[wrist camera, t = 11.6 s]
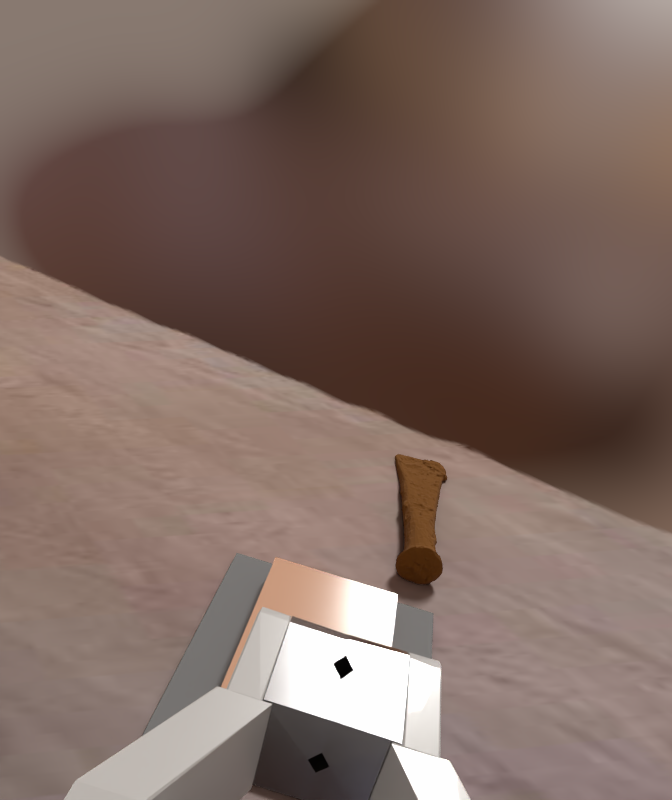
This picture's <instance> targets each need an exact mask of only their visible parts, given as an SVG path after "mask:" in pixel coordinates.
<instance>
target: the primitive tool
mask: <svg viewBox="0 0 672 800" xmlns="http://www.w3.org/2000/svg"><path fill="white" fill-rule="evenodd" d="M395 460H396V468H397V473H398V477H399V482H400V489H401V490H400V494H401V496H402V511H403V520H404V521H403V522H404V536H405V537H404V538H405V542H404V551H403V552H401V553H400V554H399V555H398V557H397V560H396V569H397V572H398V574H399V575H400V576H401V577H402V578H403V579H406V580H408V581H412V582H414V583H417V584H428V583H430V582H432V581H435V580H436V579H437V578H438V577H439V576H440V575H441V574H442V569H443V567H442V561H441V558H440V556H439V555H438V554H437V553H436V550H435V545H436V543H437V541H436V535H435V530H434V529H435V520H436V511H437V507H438V505H437V504H438V500H439V494H440V489H441V485H442V481H446V480H447V476H446V471H445V469H444V467H443V466H442V465H441V464H440V463H438V462H435V461H432V460H431V461H428V460H420V459H416V458H413V457H409V456H404V455H400V454H398V455H396V456H395Z"/></svg>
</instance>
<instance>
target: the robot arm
mask: <svg viewBox="0 0 672 800" xmlns="http://www.w3.org/2000/svg"><path fill="white" fill-rule="evenodd" d="M441 674H442V667H441V665H440V662H439V661H437V660H433V659H430V658H426V657H423V656H420V655H416V654H413V653H410V652H409V653H408V652H407V651H403V650H400V649H397V648H393V647H390V646H386V645H383V644H380V643H376V642H373V641H370V640H366V639H363V638H359V637H356V636H353V635H347V634H344V633H342V632H339V631H336V630H333V629H330V628H327V627H324V626H321V625H318V624H315V623H312V622H309V621H306V620H303V619H300V618H297V617H294V616H292V618H291V616H289V615H286V614H283V613H280V612H277V611H274V610H271V609H268V608H265V607H262V608H261V610H260V611H259V613H258V614H257V617H256V619H255V621H254V624H253V626H252V629H251V631H250V633H249V636H248V638H247V640H246V643H245V645H244V648H243V650H242V652H241V655H240V657H239V660H238V662H237V664H236V667H235V669H234V672H233V674H232V676H231V679H230V681H229V684H228V686H227V688H226V689H225V688H222V687H218V686H217V687H215V688H214V689H212V690H211V691H209V692H208V693H206V694H205V695H203V696H202V697H200V698H199V699H197V700H196V701H194V702H193V703H191V704H190V705H188V706H187V707H185V708H184V709H182V710H181V711H179V712H178V713H176V714H175V715H173V716H172V717H170V718H169V719H167V720H166V721H164V722H163V723H161V724H160V725H158V726H157V727H155V728H154V729H152V730H151V731H149V732H148V733H146V734H145V735H143V736H142V737H140V738H139V739H137V740H136V741H134V742H133V743H131V744H130V745H128V746H127V747H125V748H124V749H122V750H121V751H119V752H118V753H116V754H115V755H113V756H112V757H110V758H109V759H107V760H106V761H104V762H103V763H101V764H100V765H98V766H97V767H95V768H94V769H92V770H91V771H89V772H88V773H86V774H85V775H83V776H82V777H80V778H79V779H77V780H76V781H75V782H74V784H73V786H72V787H71V789H70V791H69V792H68V794H67V796H66V797H65V799H64V800H240V799H241V798H242V797H243V796H244V795H245V794H246V793H247V792H248V791H249V790H250V789H251V787H252V785H255V786H258V787H262V788H265V789H268V790H272V791H275V792H278V793H282V794H285V795H288V796H292V797H295V798H298V799H302V800H471V799H470V797H469V795H468V793H467V792H466V790H465V788H464V786H463V784H462V782H461V780H460V779H459V777H458V775H457V773H456V771H455V769H454V768H453V766H452V764H451V762H450V761H448V760H445V759H443V758H440V742H441Z"/></svg>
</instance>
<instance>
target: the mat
mask: <svg viewBox="0 0 672 800" xmlns="http://www.w3.org/2000/svg"><path fill="white" fill-rule="evenodd" d="M271 567H272V564H271V563H268V562H265V561H262V560H258V559H255V558H252V557H248V556H245V555H242V554H239V553H237V554H236V556H235V558H234V560H233V562H232V563H231V565H230V567H229V569H228V571H227V573H226V575H225V577H224V579H223V581H222V583H221V585H220V587H219V589H218V590H217V592H216V594H215V596H214V598H213V600H212V602H211V604H210V606H209V608H208V610H207V612H206V614H205V616H204V617H203V619H202V621H201V623H200V625H199V627H198V629H197V631H196V633H195V635H194V637H193V639H192V641H191V643H190V644H189V646H188V648H187V650H186V652H185V654H184V656H183V658H182V660H181V662H180V664H179V666H178V668H177V670H176V671H175V673H174V675H173V677H172V679H171V681H170V683H169V685H168V687H167V689H166V691H165V693H164V695H163V696H162V698H161V700H160V702H159V704H158V706H157V708H156V710H155V712H154V714H153V716H152V718H151V720H150V722H149V723H148V725H147V727H146V729H145V731H144V733H143V735H145V734H146V733H148V732H149V731H151V730H152V729H154V728H155V727H157V726H158V725H160V724H161V723H163V722H164V721H166V720H167V719H169V718H170V717H172V716H173V715H175V714H176V713H178V712H179V711H181V710H182V709H184V708H185V707H187V706H188V705H190V704H191V703H193V702H194V701H196V700H197V699H199V698H200V697H202V696H203V695H205V694H206V693H208V692H209V691H211V690H212V689H214V688H215V687H217V686H218V687H221V685H222V683H223V681H224V678H225V676H226V674H227V671H228V669H229V666H230V664H231V662H232V659H233V657H234V655H235V652H236V650H237V647H238V645H239V643H240V640H241V638H242V636H243V633H244V631H245V628H246V626H247V624H248V621H249V619H250V617H251V614H252V612H253V609H254V607H255V605H256V602H257V600H258V598H259V595H260V593H261V591H262V588H263V586H264V583H265V581H266V579H267V576H268V574H269V572H270V569H271ZM432 635H433V613H431V612H427V611H424V610H421V609H418V608H414V607H411V606H408V605H405V604H401V603H398V602H397V607H396V616H395V624H394V633H393V641H392V647H393V648H397V649H400V650H403V651H407V652H408V653H409V652H410V653H413V654H416V655H420V656H423V657H426V658H430V659H432ZM143 735H142V736H143Z"/></svg>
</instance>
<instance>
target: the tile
mask: <svg viewBox="0 0 672 800" xmlns="http://www.w3.org/2000/svg"><path fill="white" fill-rule="evenodd" d="M397 599H398V594H395V593H392V592H388V591H385V590H382V589H379V588H375V587H372V586H369V585H366V584H362V583H359V582H356V581H352V580H349V579H346V578H343V577H339V576H336V575H333V574H330V573H326V572H323V571H320V570H317V569H313V568H310V567H307V566H303V565H300V564H297V563H294V562H290V561H287V560H284V559H281V558H277V557H275V560H274V562H273V564H272V567H271V569H270V572H269V574H268V576H267V579H266V581H265V583H264V586H263V588H262V591H261V593H260V595H259V598H258V600H257V602H256V605H255V607H254V609H253V612H252V614H251V617H250V619H249V621H248V624H247V626H246V628H245V631H244V633H243V636H242V638H241V640H240V643H239V645H238V647H237V650H236V652H235V655H234V657H233V659H232V662H231V664H230V666H229V669H228V671H227V674H226V676H225V678H224V681H223V683H222V685H221V687H222V688H225V689H226V688H227V686H228V684H229V681H230V679H231V676H232V674H233V672H234V669H235V667H236V664H237V662H238V660H239V657H240V655H241V652H242V650H243V648H244V645H245V643H246V640H247V638H248V636H249V633H250V631H251V629H252V626H253V624H254V621H255V619H256V617H257V614H258V613H259V611H260V610H261V608H262V607H265V608H268V609H271V610H274V611H277V612H280V613H283V614H286V615H289V616H291V618H292V616H294V617H297V618H300V619H303V620H306V621H309V622H312V623H315V624H318V625H321V626H324V627H327V628H330V629H333V630H336V631H339V632H342V633H344V634H347V635H353V636H356V637H359V638H363V639H366V640H370V641H373V642H376V643H380V644H383V645H386V646H390V647H392V641H393V633H394V624H395V616H396V607H397Z"/></svg>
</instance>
